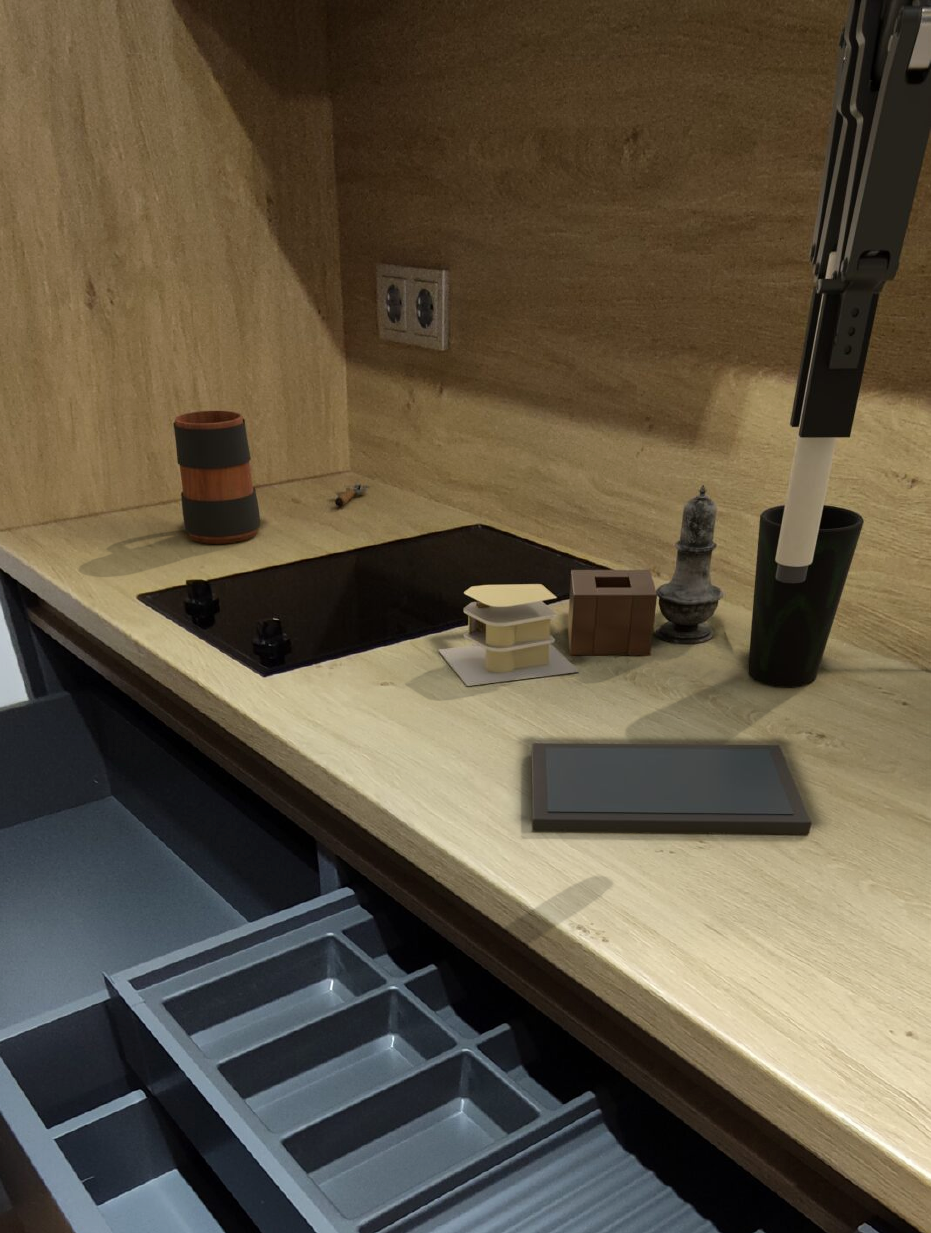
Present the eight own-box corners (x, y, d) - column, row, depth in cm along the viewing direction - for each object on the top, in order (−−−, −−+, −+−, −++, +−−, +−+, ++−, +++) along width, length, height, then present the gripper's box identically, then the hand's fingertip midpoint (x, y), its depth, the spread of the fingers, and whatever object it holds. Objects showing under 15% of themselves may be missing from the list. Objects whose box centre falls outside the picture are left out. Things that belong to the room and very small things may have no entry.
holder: (644, 627, 102) (650, 569, 98) (650, 655, 97) (657, 594, 93) (567, 627, 102) (571, 569, 99) (570, 654, 97) (573, 594, 94)
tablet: (777, 756, 81) (780, 743, 80) (809, 834, 72) (812, 821, 71) (531, 754, 82) (531, 741, 81) (532, 831, 73) (532, 818, 73)
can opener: (343, 508, 135) (342, 497, 134) (325, 506, 136) (324, 496, 135) (371, 490, 141) (370, 480, 140) (354, 489, 142) (354, 479, 141)
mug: (230, 514, 134) (216, 401, 126) (274, 537, 126) (261, 418, 119) (163, 526, 131) (144, 411, 123) (204, 550, 123) (186, 428, 115)
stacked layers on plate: (543, 637, 100) (546, 572, 97) (579, 672, 94) (584, 603, 90) (437, 650, 99) (436, 584, 95) (467, 686, 92) (467, 617, 88)
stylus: (805, 573, 69) (868, 250, 59) (811, 584, 68) (878, 254, 57) (769, 573, 69) (826, 251, 59) (775, 584, 68) (834, 254, 57)
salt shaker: (640, 637, 100) (655, 488, 92) (669, 618, 104) (686, 473, 96) (700, 649, 97) (721, 497, 89) (727, 629, 101) (750, 481, 93)
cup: (735, 655, 96) (759, 501, 88) (826, 660, 95) (859, 505, 87) (734, 689, 91) (761, 528, 82) (831, 694, 89) (868, 531, 81)
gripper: (816, -166, 53) (734, 405, 69) (891, -242, 42) (773, 461, 58) (976, -172, 53) (857, 404, 69) (1095, -251, 42) (920, 461, 57)
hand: (819, 429), depth 63 cm, fingers closed on stylus, 2 cm apart
